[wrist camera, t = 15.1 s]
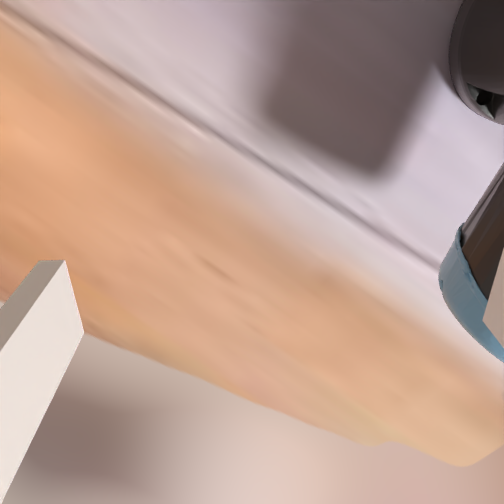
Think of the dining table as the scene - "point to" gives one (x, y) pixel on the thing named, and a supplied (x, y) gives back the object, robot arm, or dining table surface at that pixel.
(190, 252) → the dining table surface
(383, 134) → the dining table surface
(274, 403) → the dining table surface
